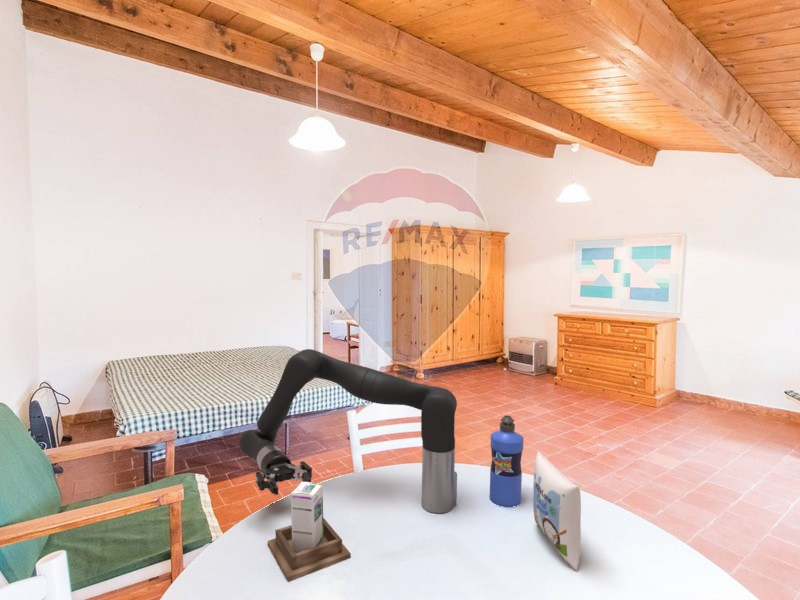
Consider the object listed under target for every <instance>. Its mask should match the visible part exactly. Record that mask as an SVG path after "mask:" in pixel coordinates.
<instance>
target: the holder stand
mask: <svg viewBox="0 0 800 600" xmlns="http://www.w3.org/2000/svg"><path fill="white" fill-rule="evenodd" d="M323 534H324V540H323V542H322V543H321V545H318V546H315V547H313V548H310V549H307V550H304V551H301V552H294V551H293V549H292V524H291V525H288V526H284V527H281V528H278V529H275V538H273V539H270V540H267V546H268V549H269V550H270V552H271V553H272V556H273V557H274V559H275V560H276V562H277V564H278V566H279V568H280V570H281V572H282V573H283V575H284V577H285V578H286V581H287V583H288V582H291V581H293V580H296V579H298V578H301V577H305V576H307V575H310V574H311V573H315V572H317V571H320V570H322V569H325V568H327V567H330V566H332V565H334V564H338V563H341V562H343V561H345V560H348V559H351V557H352V554H351V552H350V551H349V549H348V548H347V547H346V546H345V545H344V544H343V539H342V538H341V537H340V536H339V534H338V533H337V532H336V531H335V530H334V528H333V527H332V526H331V524H329V522H328V521H327V520H326V519H325V517H323Z"/></svg>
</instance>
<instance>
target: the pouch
mask: <svg viewBox="0 0 800 600" xmlns="http://www.w3.org/2000/svg"><path fill="white" fill-rule="evenodd" d="M533 469H534V471H533V489H532V490H533V495H532V496H533V498H532V499H533V500H532V501H533V502H532V503H533V516H534V517H533V518H534V522H535V524H536V525H537V527H538V528H539V529H540V531H542V533H543V534H544V535H545V536H546V538H547V539H548V540H549V541H550V543H551V544H552V546H553V547H554V548H555V549H556V550H557V551H558V553H559V554H560V555H561V557H563V559H564V560H565V561H566V563H568V565H570V566H571V567H572V568H573V569H574V570H575V572H578V567H579V565H580V564H579V563H580V555H581V538H582V537H581V535H582V534H581V532H582V531H581V529H582V527H581V524H582V523H581V521H582V520H581V513H582V502H581V498H582V497H581V489H580V488H579V485H577V484H575V483H574V482H573V481H571V480H570V479H569V478H567V477H566V476H565V475H564V474H563V473H562V472H561V471H560V470H559V469H558V468H557V467H556V466H555V465H553V464H552V462H550V461H549V459H547V458H546V457H545V455H543V454H542V453H541V452H540V451H537V454H536V457H535V462H534V468H533Z"/></svg>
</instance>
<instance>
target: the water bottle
mask: <svg viewBox="0 0 800 600" xmlns="http://www.w3.org/2000/svg"><path fill="white" fill-rule="evenodd" d="M514 422H515V420H514V418H512V416H510V415H504V416H503V417H502V418H501V419H500V423H499V429H500V430H495V431H493V432H491V434H490V450H491V463H490V464H491V465H490V470H489V471H490V472H489V473H490V474H489V500H490V501H492V502H491V503H493V504H494V505H496V506H498V505H499V506H498V507H501V506H503V507H502V508H508V507H511V508H514V507H513V506H516V507H518V506H520V505H521V503H522V481H523V480H522V479H523V476H522V475H523V472H522V471H523V470H522V465H521V464H522V463H521V462H522V455H523V450H524V437H523V436H522V434H519V433H517V432H515V427H516V425H515V423H514ZM520 502H521V503H520ZM519 504H520V505H519ZM517 505H518V506H517Z"/></svg>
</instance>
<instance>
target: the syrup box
mask: <svg viewBox="0 0 800 600" xmlns="http://www.w3.org/2000/svg"><path fill="white" fill-rule="evenodd" d="M323 487H324V486H323V484H322V483H319V482H313V481H311V482H303V481H301V482H300V484H299V485H297V486H296V488H294V490H293V491H292V492H291V493H290V503H291V504H290V505H291V506H290V509H291V510H290V511H291V512H290V514H291V517H290V518H291V525H292V549H293V551H294V552H301V551H304V550H307V549H310V548H313V547H315V546H318V545H321V543H322V542H323V540H324V534H323V518H324V494H323V493H324V489H323Z"/></svg>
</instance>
